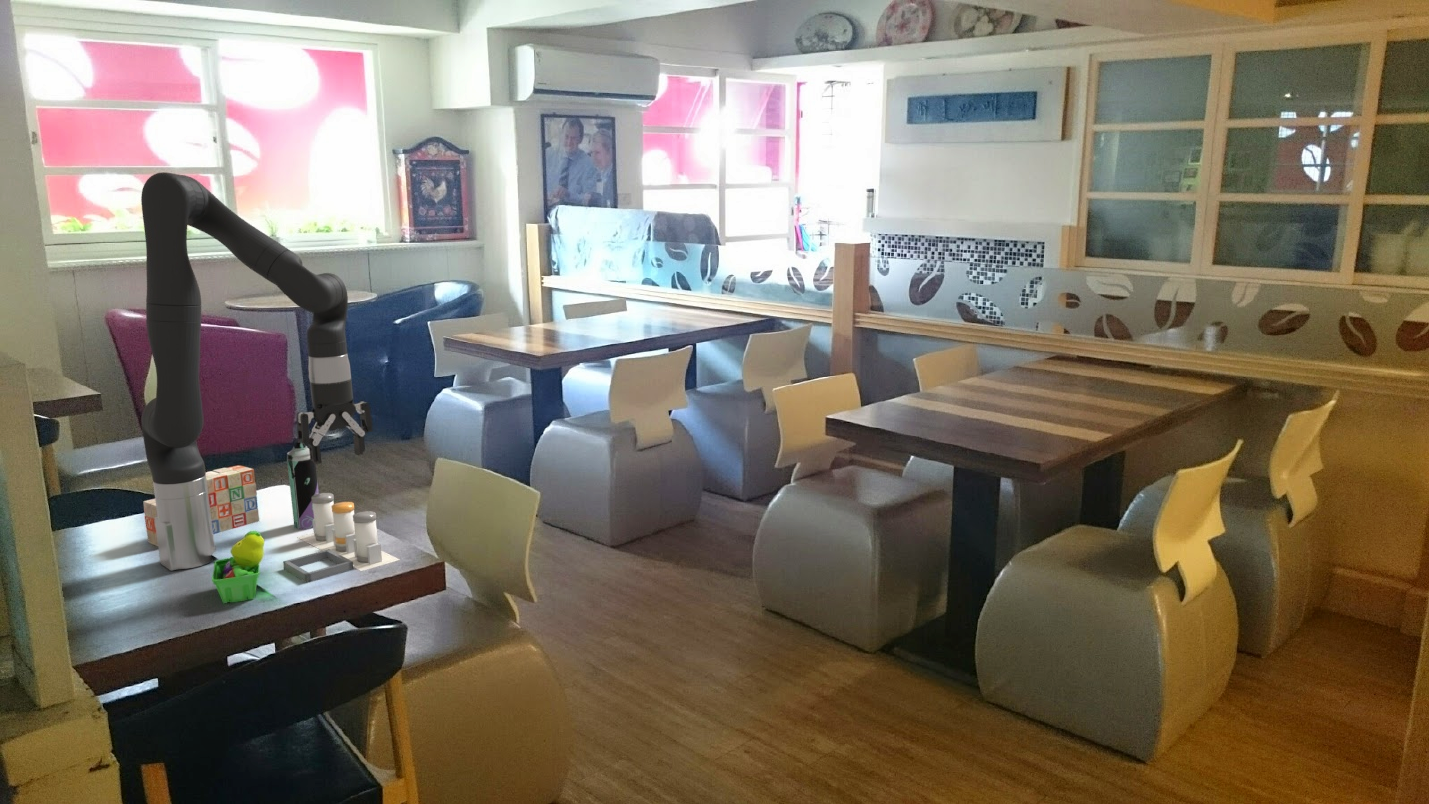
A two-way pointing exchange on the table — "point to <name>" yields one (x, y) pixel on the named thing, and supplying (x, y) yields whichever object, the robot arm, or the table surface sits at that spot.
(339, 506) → the fuse marked
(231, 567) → the fruit basket
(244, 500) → the stack of blocks
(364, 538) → the fuse right
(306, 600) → the table surface
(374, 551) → the fuse strip
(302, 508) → the spray can
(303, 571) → the tray
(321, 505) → the fuse left
